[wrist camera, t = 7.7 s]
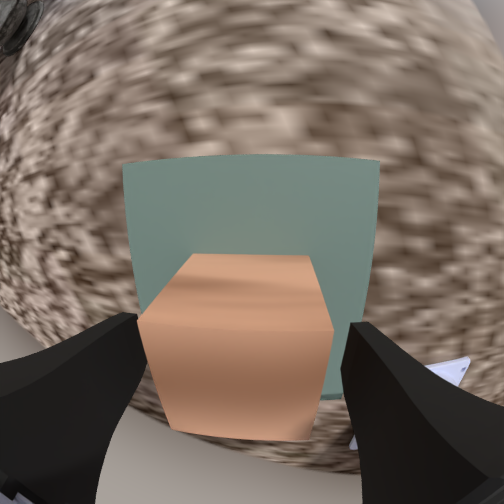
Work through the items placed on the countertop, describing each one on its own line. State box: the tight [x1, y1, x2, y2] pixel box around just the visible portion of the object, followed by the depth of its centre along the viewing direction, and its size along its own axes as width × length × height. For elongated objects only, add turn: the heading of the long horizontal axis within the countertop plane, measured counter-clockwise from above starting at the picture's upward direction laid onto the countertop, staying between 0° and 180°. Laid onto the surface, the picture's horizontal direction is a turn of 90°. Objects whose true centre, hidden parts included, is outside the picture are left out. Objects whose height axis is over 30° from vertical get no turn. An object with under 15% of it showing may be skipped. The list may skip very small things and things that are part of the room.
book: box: [122, 154, 380, 400], centre depth 12 cm, size 12×10×2 cm
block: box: [137, 254, 334, 441], centre depth 9 cm, size 4×4×5 cm
